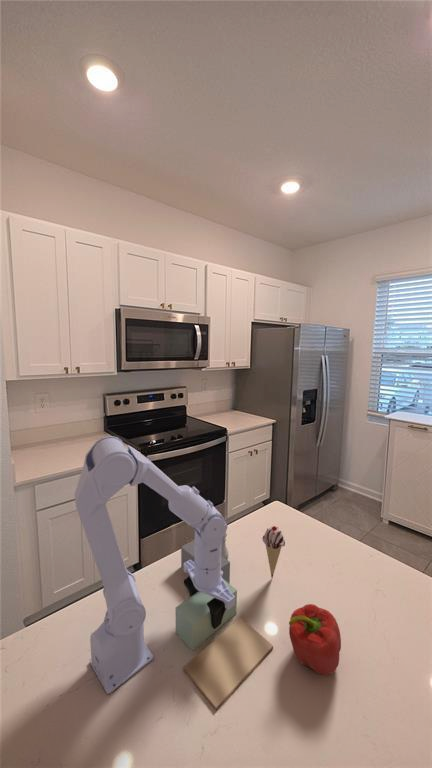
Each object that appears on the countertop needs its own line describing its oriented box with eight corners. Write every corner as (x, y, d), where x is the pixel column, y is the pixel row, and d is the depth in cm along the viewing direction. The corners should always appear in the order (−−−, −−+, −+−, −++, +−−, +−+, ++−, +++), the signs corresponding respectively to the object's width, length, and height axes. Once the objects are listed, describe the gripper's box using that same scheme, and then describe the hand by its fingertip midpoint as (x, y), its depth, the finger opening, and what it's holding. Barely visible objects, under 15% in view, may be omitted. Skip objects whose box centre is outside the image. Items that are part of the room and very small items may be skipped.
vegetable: (298, 692, 57) (301, 644, 55) (276, 639, 67) (278, 597, 65) (352, 680, 59) (357, 634, 57) (323, 630, 69) (326, 589, 67)
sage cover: (192, 651, 64) (192, 625, 63) (175, 632, 68) (175, 607, 67) (236, 613, 73) (236, 590, 72) (219, 598, 77) (219, 576, 76)
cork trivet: (216, 710, 54) (216, 707, 54) (183, 669, 60) (183, 667, 60) (273, 648, 65) (273, 645, 65) (240, 619, 71) (240, 617, 71)
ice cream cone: (284, 587, 80) (287, 533, 78) (262, 587, 81) (264, 532, 78) (280, 571, 86) (283, 520, 84) (259, 570, 86) (261, 519, 84)
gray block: (229, 583, 82) (230, 562, 81) (213, 595, 78) (213, 573, 77) (196, 557, 91) (197, 538, 90) (181, 566, 87) (181, 546, 86)
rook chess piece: (222, 564, 88) (223, 538, 87) (210, 557, 91) (210, 532, 90) (231, 555, 92) (232, 530, 91) (219, 549, 94) (219, 524, 93)
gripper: (245, 569, 66) (243, 626, 68) (199, 536, 76) (199, 587, 78) (221, 587, 61) (220, 648, 63) (176, 550, 71) (176, 603, 73)
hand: (207, 616), depth 70 cm, fingers closed on sage cover, 6 cm apart
